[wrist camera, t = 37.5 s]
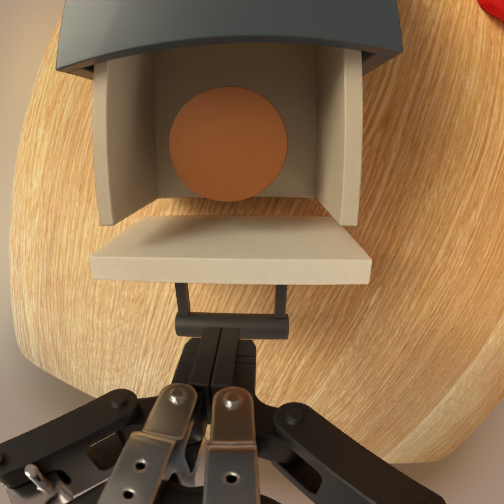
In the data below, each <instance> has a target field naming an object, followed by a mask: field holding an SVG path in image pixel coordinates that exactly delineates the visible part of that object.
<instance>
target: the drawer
mask: <svg viewBox="0 0 504 504" xmlns="http://www.w3.org/2000/svg"><path fill="white" fill-rule="evenodd" d="M222 86H237V87H243V88H246V89H250V90H252V91H254V92H257V93H258V94H260V95H262V96H263V97H265V98H266V99H267V100H268V101H270V102H271V103H272V104H273V106H274V107H275V108H276V109H277V111H278V112H279V113H280V115H281V117H282V119H283V121H284V124H285V127H286V131H287V136H288V150H287V156H286V160H285V163H284V165H283V168H282V169H281V171H280V173H279V175H278V176H277V178H276V179H275V180H274V181H273V182H272V183H271V185H270V186H268V187H267V188H266V189H265V190H263V191H262V192H260V193H259V194H257V195H255V196H253V197H294V198H316V199H317V200H318V201H319V203H320V204H321V205H322V206H323V207H324V208H325V209H326V210H327V211H328V212H329V213H330V214H331V216H332V217H329V216H284V215H181V216H144V217H143V218H141V219H140V220H138V221H137V222H136V223H134V224H133V225H131V226H130V227H128V228H127V229H126V230H124V231H123V232H121V233H120V234H119V235H117V236H116V237H114V238H113V239H112V240H110V241H109V242H108V243H106V244H105V245H103V246H102V247H101V248H99V249H98V250H97V251H95V252H94V253H93V254H91V255H90V256H89V262H90V268H91V272H92V277H93V279H103V280H123V281H145V282H172V283H175V289H176V297H177V305H178V312H177V315H176V319H175V330H176V334H177V335H178V336H186V337H202V334H203V330H204V328H205V327H222V328H223V327H225V328H240V339H288V335H289V317H288V314H286V297H287V285H338V284H369V279H370V273H371V266H372V259H371V258H370V257H369V255H368V254H367V253H366V252H365V251H364V250H363V249H362V247H361V246H360V245H359V244H358V243H357V242H356V241H355V240H354V238H353V237H352V236H351V235H350V234H349V233H348V232H347V231H346V229H345V228H344V227H343V226H357V225H358V214H359V202H360V188H361V170H362V144H363V85H362V60H361V51H359V50H353V49H346V48H338V47H330V46H320V45H308V44H293V43H226V44H210V45H198V46H189V47H180V48H172V49H165V50H159V51H153V52H147V53H142V54H136V55H131V56H127V57H122V58H118V59H113V60H109V61H105V62H101V63H97V64H94V76H93V109H92V122H93V156H94V172H95V185H96V196H97V205H98V214H99V222H100V226H113V225H115V224H117V223H118V222H120V221H121V220H123V219H125V218H126V217H128V216H130V215H131V214H133V213H134V212H136V211H138V210H139V209H141V208H143V207H144V206H146V205H148V204H150V203H151V202H153V201H155V200H156V199H159V198H193V197H202V196H200V195H198V194H197V193H195V192H193V191H192V190H191V189H190V188H188V187H187V186H186V185H185V184H184V183H183V182H182V180H181V179H180V178H179V176H178V175H177V173H176V171H175V169H174V167H173V164H172V162H171V158H170V153H169V137H170V131H171V128H172V125H173V123H174V120H175V118H176V116H177V115H178V113H179V112H180V110H181V109H182V108H183V107H184V105H185V104H186V103H188V102H189V101H190V100H191V99H192V98H194V97H195V96H196V95H198V94H200V93H202V92H204V91H206V90H209V89H212V88H216V87H222ZM188 283H206V284H263V285H275V312H274V313H275V314H240V313H206V312H190V311H191V310H190V301H189V292H188Z"/></svg>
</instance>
